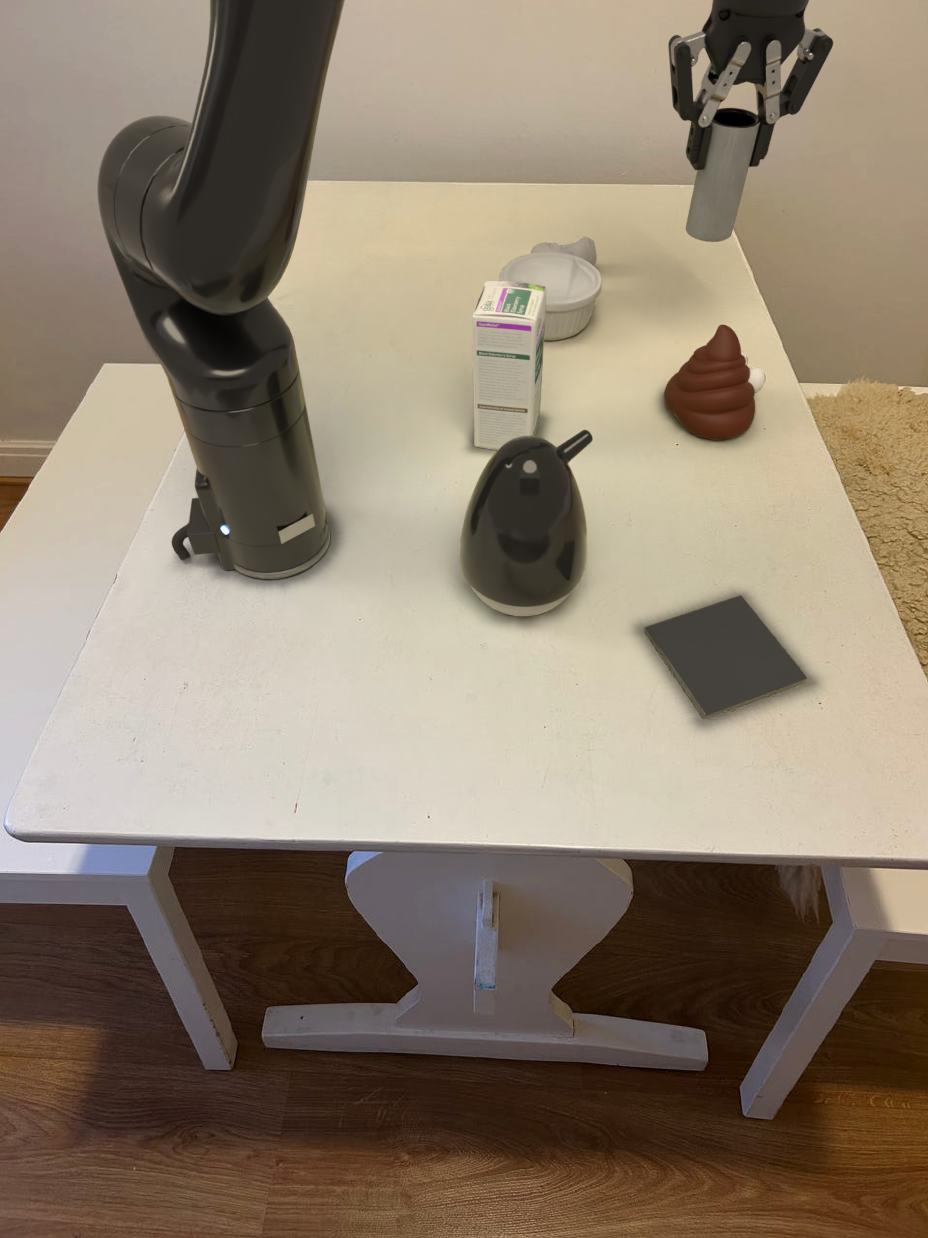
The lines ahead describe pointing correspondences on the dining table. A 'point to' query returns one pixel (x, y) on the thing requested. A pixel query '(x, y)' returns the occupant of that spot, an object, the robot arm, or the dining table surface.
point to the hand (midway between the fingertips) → (723, 163)
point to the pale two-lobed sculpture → (571, 249)
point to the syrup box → (507, 361)
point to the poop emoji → (715, 389)
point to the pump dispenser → (526, 527)
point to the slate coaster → (724, 656)
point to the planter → (722, 175)
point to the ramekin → (559, 289)
